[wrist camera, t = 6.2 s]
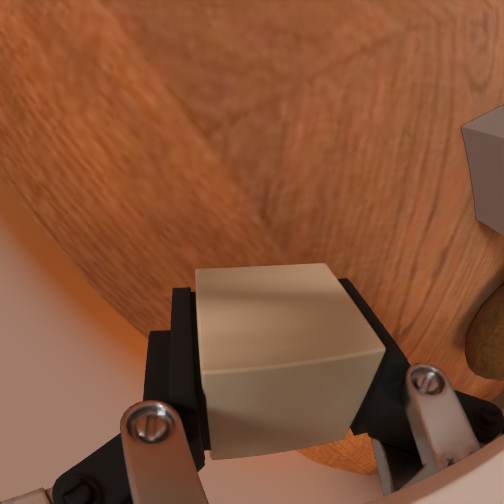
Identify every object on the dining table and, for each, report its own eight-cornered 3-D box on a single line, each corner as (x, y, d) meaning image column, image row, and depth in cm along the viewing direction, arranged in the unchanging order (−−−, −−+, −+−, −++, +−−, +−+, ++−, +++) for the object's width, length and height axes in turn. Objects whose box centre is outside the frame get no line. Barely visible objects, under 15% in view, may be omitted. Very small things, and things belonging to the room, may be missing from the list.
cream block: (201, 363, 11) (211, 461, 7) (194, 267, 9) (200, 373, 6) (307, 354, 12) (344, 440, 8) (326, 261, 10) (388, 348, 6)
